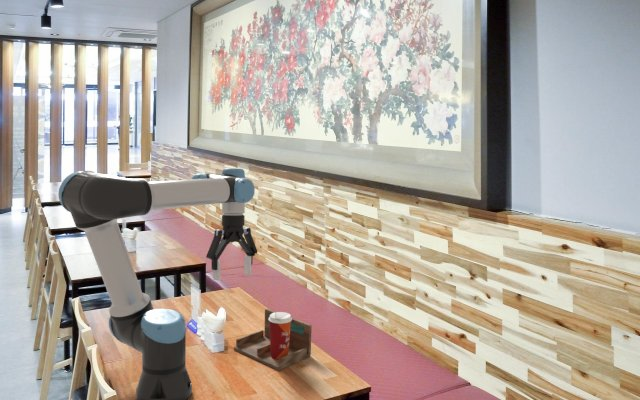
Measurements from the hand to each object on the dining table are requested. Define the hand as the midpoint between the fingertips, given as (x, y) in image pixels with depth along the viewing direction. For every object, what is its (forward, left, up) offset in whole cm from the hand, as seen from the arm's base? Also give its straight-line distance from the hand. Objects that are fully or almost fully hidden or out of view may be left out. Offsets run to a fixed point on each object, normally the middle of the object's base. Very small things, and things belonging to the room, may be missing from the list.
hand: (232, 277), depth 178 cm
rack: (+7, -13, -25) cm, 29 cm away
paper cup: (+6, -18, -24) cm, 31 cm away
